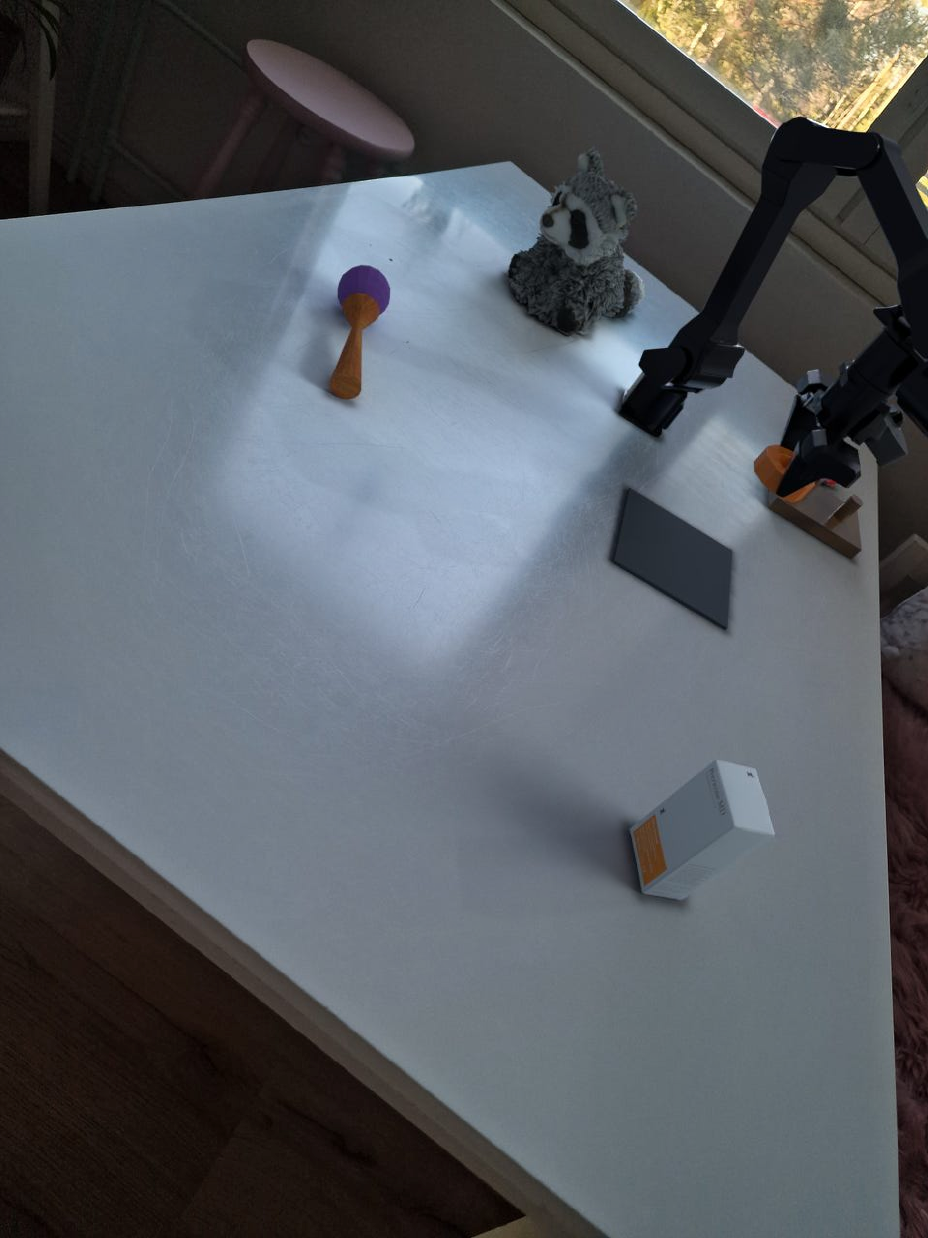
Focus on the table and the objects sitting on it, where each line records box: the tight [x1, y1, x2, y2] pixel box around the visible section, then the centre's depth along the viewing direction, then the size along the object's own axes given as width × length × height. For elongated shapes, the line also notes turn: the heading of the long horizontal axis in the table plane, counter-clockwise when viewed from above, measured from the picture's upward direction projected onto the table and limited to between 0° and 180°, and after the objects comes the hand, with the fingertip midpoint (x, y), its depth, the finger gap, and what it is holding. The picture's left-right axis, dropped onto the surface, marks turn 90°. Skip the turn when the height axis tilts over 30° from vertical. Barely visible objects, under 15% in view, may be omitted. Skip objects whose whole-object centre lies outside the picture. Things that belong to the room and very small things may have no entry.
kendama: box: [329, 264, 391, 400], centre depth 108 cm, size 6×6×20 cm
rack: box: [767, 479, 864, 560], centre depth 137 cm, size 14×10×6 cm
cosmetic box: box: [629, 759, 776, 901], centre depth 79 cm, size 6×4×12 cm
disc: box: [753, 443, 815, 502], centre depth 116 cm, size 7×7×2 cm
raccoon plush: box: [507, 146, 646, 337], centre depth 138 cm, size 15×32×21 cm, turn 145°
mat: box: [612, 487, 733, 630], centre depth 115 cm, size 15×15×1 cm
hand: (778, 478), depth 117 cm, fingers closed on disc, 7 cm apart
